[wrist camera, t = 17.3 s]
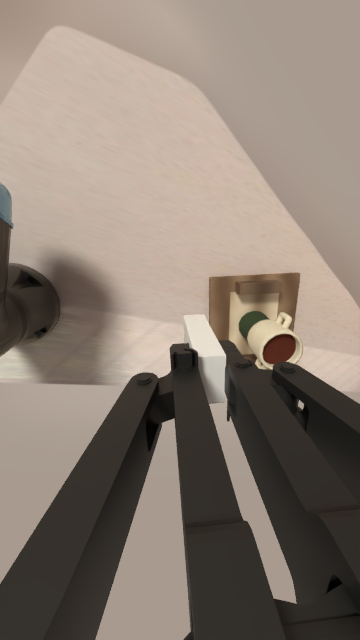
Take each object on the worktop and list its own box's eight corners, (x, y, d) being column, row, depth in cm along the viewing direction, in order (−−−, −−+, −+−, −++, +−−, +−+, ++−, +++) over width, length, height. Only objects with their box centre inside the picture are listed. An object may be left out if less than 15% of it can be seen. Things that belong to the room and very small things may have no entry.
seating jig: (209, 366, 54) (213, 375, 50) (209, 277, 47) (213, 280, 44) (286, 360, 55) (296, 369, 51) (297, 272, 48) (309, 275, 45)
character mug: (256, 351, 52) (285, 385, 40) (226, 342, 51) (247, 375, 39) (278, 305, 49) (317, 327, 37) (247, 294, 48) (277, 313, 36)
